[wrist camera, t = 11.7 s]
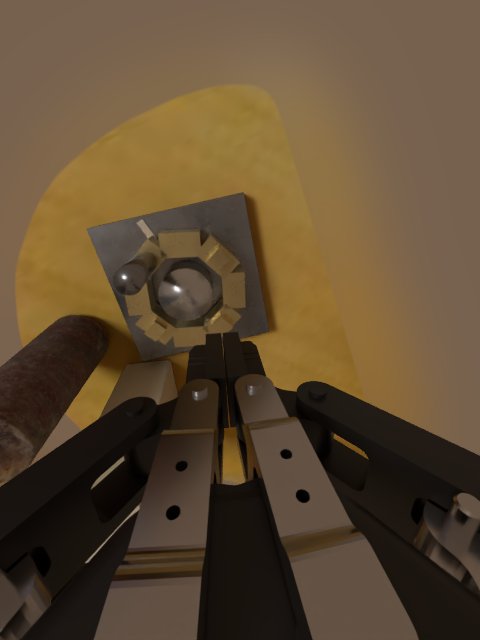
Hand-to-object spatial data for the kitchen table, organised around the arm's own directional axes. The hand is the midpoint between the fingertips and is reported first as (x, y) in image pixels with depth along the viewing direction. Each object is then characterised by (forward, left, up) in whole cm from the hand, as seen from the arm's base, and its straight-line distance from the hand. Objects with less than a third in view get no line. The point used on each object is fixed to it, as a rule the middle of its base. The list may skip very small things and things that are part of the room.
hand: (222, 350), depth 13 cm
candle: (-7, +20, -25) cm, 33 cm away
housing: (-3, +4, -25) cm, 26 cm away
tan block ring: (-3, +4, -23) cm, 23 cm away
